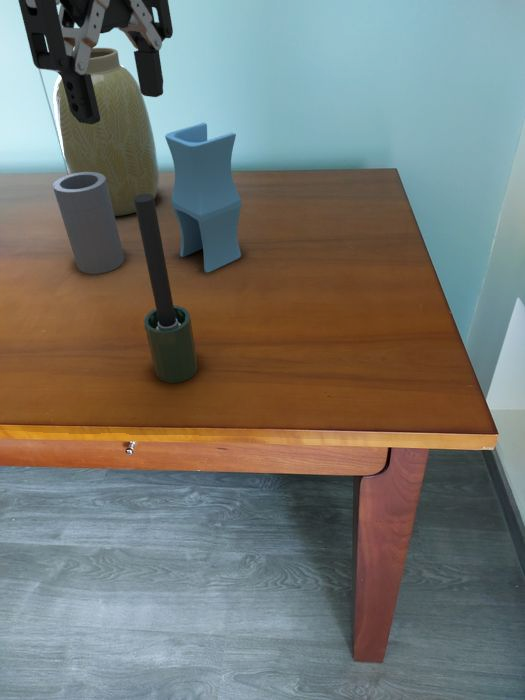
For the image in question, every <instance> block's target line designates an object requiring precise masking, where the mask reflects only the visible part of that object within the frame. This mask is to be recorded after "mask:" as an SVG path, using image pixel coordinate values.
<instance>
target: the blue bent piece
mask: <svg viewBox="0 0 525 700" xmlns="http://www.w3.org/2000/svg"><path fill="white" fill-rule="evenodd" d="M236 136H237V133H235V132H230V133H227V134H226V133H225V134H224V135H220V136H217V137H214V138H211V139H208V124H207V123H206V122H201V123H197V124H195V125H191V126H188V127H185V128H180V129H176V130H174V131H170V132H168V133H166V134H165V135H164V138H165V141H166V143H167V146H168V149H169V151H170V154H171V155H170V156H171V158H172V162H173V167H174V183H173V185H174V186H173V191H172V195H171V199H170V202H171V207H172V209H173V212H174V214H175V217H176V219H177V223H178V225H179V230H180V237H181V238H180V239H181V240H180V251H179V257H181V258H184V257H187V256H189V255H191V254H193V253H196V252H198V251H200V250H202V251H203V271H204V272H205V273H207V274H208V273H211V272H213V271H215V270H217V269H219V268H222V267H224V266H227V265H228V264H230V263H232V262H234V261H236V260H239V259H240V258H241V257H242V252H241V249H240V245H239V239H238V225H239V219H240V213H241V209H242V199H241V197H240V194H239V192H238V190H237V188H236V185H235V182H234V179H233V174H232V155H233V151H234V145H235V141H236V138H237V137H236Z"/></svg>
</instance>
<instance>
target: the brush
mask: <svg viewBox="0 0 525 700" xmlns="http://www.w3.org/2000/svg"><path fill="white" fill-rule="evenodd" d="M134 204H135V208H136V212H135V213H136V218H137V222H138V227H139V232H140V237H141V242H142V246H143V252H144V256H145V262H146V266H147V271H148V275H149V281H150V286H151V291H152V295H153V296H152V297H153V300H154V304H155V305H154V306H155V309H156V310H157V315H158V320H159V321H158V326H157V328H156V329H157V330H169V329H174V328H176V327H178V326H180V325H181V324H180V323H179V322H178V320H177V319H176V318H175V312H174V306H175V305H174V301H173V296H172V290H171V284H170V278H169V274H168V268H167V262H166V257H165V252H164V246H163V239H162V234H161V230H160V224H159V218H158V212H157V206H156V202H155V200H154V196H153V195H151V194H141V195H138V196H136V197H135V198H134Z"/></svg>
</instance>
